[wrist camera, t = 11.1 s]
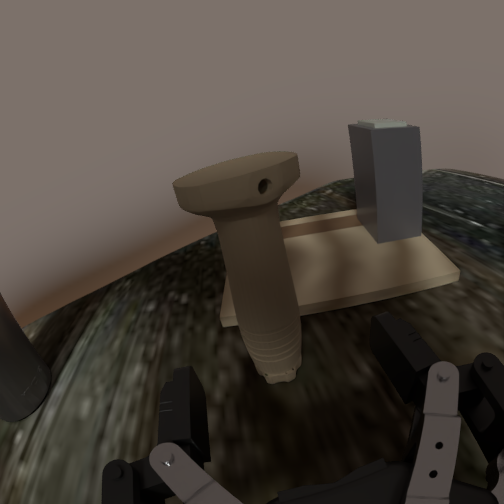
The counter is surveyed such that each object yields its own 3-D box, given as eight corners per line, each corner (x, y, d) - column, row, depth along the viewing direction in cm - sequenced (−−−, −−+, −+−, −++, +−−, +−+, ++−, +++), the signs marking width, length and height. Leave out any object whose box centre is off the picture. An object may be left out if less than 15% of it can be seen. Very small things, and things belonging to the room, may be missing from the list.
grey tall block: (377, 243, 32) (369, 124, 26) (357, 218, 39) (347, 120, 33) (421, 235, 31) (418, 122, 25) (395, 212, 38) (389, 117, 32)
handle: (228, 373, 22) (162, 182, 15) (294, 334, 24) (261, 150, 17) (262, 413, 18) (193, 192, 11) (333, 364, 20) (315, 153, 14)
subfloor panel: (222, 327, 27) (219, 317, 26) (236, 237, 45) (234, 229, 44) (458, 280, 24) (460, 270, 24) (388, 211, 42) (388, 204, 42)
